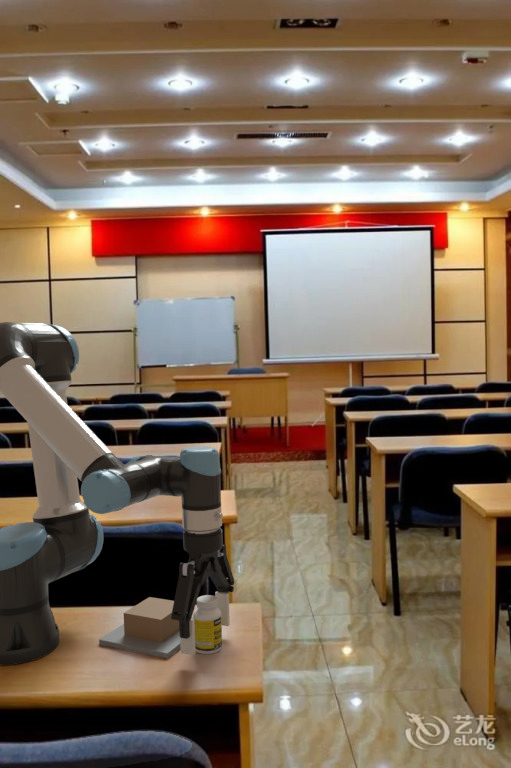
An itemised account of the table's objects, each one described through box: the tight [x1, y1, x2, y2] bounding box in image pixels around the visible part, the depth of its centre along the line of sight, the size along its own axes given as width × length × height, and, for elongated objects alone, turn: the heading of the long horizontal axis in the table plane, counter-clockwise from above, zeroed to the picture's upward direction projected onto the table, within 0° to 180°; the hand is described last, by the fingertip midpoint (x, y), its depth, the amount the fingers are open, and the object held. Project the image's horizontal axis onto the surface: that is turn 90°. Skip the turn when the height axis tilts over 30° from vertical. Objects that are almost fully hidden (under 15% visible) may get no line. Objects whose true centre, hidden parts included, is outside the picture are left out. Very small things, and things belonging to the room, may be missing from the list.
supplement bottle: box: [192, 594, 223, 655], centre depth 122 cm, size 5×5×10 cm
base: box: [98, 596, 193, 660], centre depth 130 cm, size 16×16×6 cm
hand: (206, 638), depth 122 cm, fingers open, 13 cm apart
